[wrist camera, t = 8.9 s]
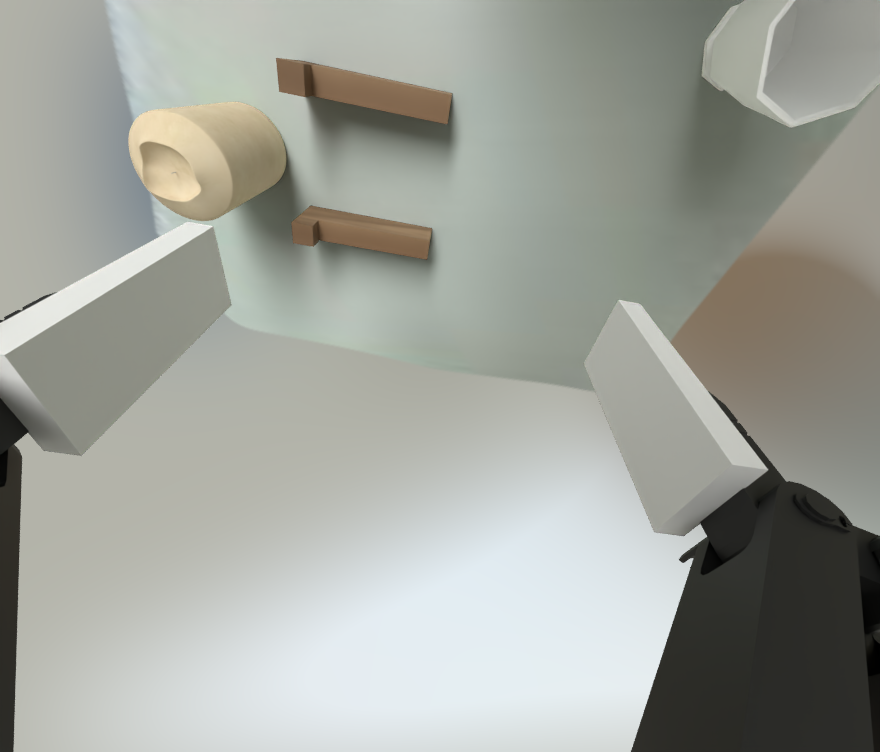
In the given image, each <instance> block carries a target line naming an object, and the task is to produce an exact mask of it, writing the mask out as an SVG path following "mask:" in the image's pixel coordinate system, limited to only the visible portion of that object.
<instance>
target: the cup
mask: <svg viewBox="0 0 880 752" xmlns="http://www.w3.org/2000/svg"><path fill="white" fill-rule="evenodd" d="M701 76H702V77H704V78H705V79H706V80H707V81H708V82H709V83H711V84H712V85H713V86H714V87H715V88H717V89H718V90H719V91H724V90H726V91H727V92H728V93H729V94H730V95H732V96H733V97H734V98H735V99H736V100H738V101H739V102H740V103H741V104H742V105H744V106H746V107H748V108H750V109H752V110H755V111H757V112H759V113H761V114H764V115H766V116H768V117H770V118H771V119H773V120H775V121H777V122H779V123H782V124H784V125H786V126H788V127H790V128H792V127H795V126H798V125H802V124H805V123H808V122H811V121H814V120H818V119H821V118H824V117H827V116H830V115H833V114H837V113H840V112H843V111H846V110H849V109H853V108H855V107H856V106H857V105H858V104H859V103H860V102H861V101H862V100H863V99H864V98H865V97H866V96H867V95H868V94H869V93H870V92H871V91H872V90H873V89H874V88H875V87H876V86H877V85H878V84H879V83H880V0H744V1H743V2H742V3H740V4H738V5H735V6H733V7H730V8H729V10H728V11H727V12H726V14H725V15H724V16H723V18H722V19H721V21H720V22H719V23H718V25H717V26H716V27H715V29H714V30H713V32H712V33H711V34H710V36H709V37H708V38H707V40H706V41H705V45H704V55H703V65H702V75H701Z"/></svg>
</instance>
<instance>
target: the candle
mask: <svg viewBox="0 0 880 752" xmlns="http://www.w3.org/2000/svg"><path fill="white" fill-rule="evenodd" d="M129 151H130V156H131V159H132V162H133V165H134V167H135V170H136V172H137V173H138V175H139V177H140V179H141V180H142V182H143V183H144V185H145V187H146V188H147V189H148V190H149V191H150V192H151V193H152V194H153V196H154V197H155V198H157V199H158V200H159V201H160V202H161V203H162V204H163V205H165V206H166V207H167V208H169V209H170V210H172V211H173V212H175V213H177V214H179V215H181V216H183V217H186V218H189V219H193V220H198V221H209V220H214V219H216V218H219V217H220V216H222V215H224V214H226V213H227V212H229V211H231V210H233V209H234V208H236V207H238V206H239V205H241V204H243V203H245V202H246V201H248V200H250V199H252V198H253V197H255V196H257V195H258V194H260V193H262V192H264V191H265V190H267V189H269V188H270V187H272V186H273V185H275V184H276V183H277V182H278V181H279V180H280V179H281V177H282V175H283V174H284V171H285V167H286V150H285V146H284V142H283V140H282V137H281V135H280V133H279V131H278V130H277V128H276V127H275V125H274V124H273V123H272V121H271V120H270V119H269V118H268V117H267V116H266V115H264V114H263V113H262V112H261V111H259V110H258V109H256V108H254V107H252V106H250V105H247V104H244V103H240V102H226V103H215V104H206V105H196V106H186V107H177V108H167V109H158V110H151V111H147V112H145V113H143V114H141V115H140V116H139V117H137V119H136V120H135V121H134V122H133V124H132V126H131V129H130V132H129Z"/></svg>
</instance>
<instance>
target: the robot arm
mask: <svg viewBox="0 0 880 752" xmlns="http://www.w3.org/2000/svg"><path fill="white" fill-rule="evenodd" d="M230 306H231V301H230V296H229V292H228V288H227V283H226V279H225V275H224V270H223V266H222V262H221V257H220V253H219V249H218V244H217V240H216V236H215V231H214V227H213V226H208V225H203V224H197V223H192V222H186V223H184V224H183V225H181V226H179V227H177V228H175V229H173V230H172V231H170V232H168V233H166V234H164V235H162V236H160V237H159V238H157V239H155V240H153V241H151V242H149V243H148V244H146V245H144V246H142V247H140V248H138V249H136V250H135V251H133V252H131V253H129V254H127V255H125V256H123V257H122V258H120V259H118V260H116V261H115V262H112V263H111V264H109V265H107V266H105V267H103V268H101V269H99V270H98V271H96V272H94V273H92V274H90V275H88V276H86V277H85V278H83V279H81V280H79V281H77V282H75V283H74V284H72V285H70V286H68V287H66V288H64V289H63V290H61V291H59V292H56V293H52V294H49V295H46V296H43V297H41V298H39V299H38V300H36V301H34V302H32V303H30V304H28V305H26V306H24V307H23V310H17V311H15V312H13V313H11V314H9V315H8V316H6V317H4V318H5V319H4V320H0V752H13V745H14V712H15V678H16V677H15V676H16V644H17V610H18V577H19V543H20V509H21V474H22V456H21V453H20V451H19V449H18V448H17V447H16V446H15V445H14V443H16V442H17V441H18V440H19V439H21V438H22V437H23V436H24V435H25V434H27V433H29V434H30V435H31V437H32V438H33V439H34V440H35V441H36V442H37V444H38V445H39V446H40V447H41V448H42V449H43V450H44V451H49V452H57V453H65V454H72V455H80V456H81V455H83V454H84V453H85V452H86V451H87V450H88V449H89V448H90V447H91V446H92V445H93V444H94V442H96V441H97V440H98V439H99V437H101V436H102V435H103V434H104V433H105V431H107V429H108V428H110V427H111V426H112V425H113V424H114V422H116V421H117V420H118V418H119V417H121V416H122V415H123V414H124V413H125V412H126V410H128V409H129V407H130V406H131V405H132V404H133V403H134V402H135V401H136V400H137V399H138V398H139V397H140V396H141V395H142V394H143V393H144V392H145V391H146V390H147V389H148V388H149V387H150V386H151V385H152V384H153V383H154V382H155V381H156V380H157V379H158V378H159V377H160V376H161V375H162V374H163V373H164V372H165V371H166V370H167V369H168V368H169V367H170V366H171V365H172V364H173V363H174V362H175V361H176V360H177V359H178V358H179V357H180V356H181V355H182V354H183V353H184V352H185V351H186V350H187V349H188V348H189V347H190V346H191V345H192V344H193V343H194V342H195V341H196V340H197V339H198V338H199V337H200V336H201V335H202V334H203V333H204V332H205V331H206V330H207V329H208V328H209V327H210V326H211V325H212V324H213V323H214V322H215V321H216V320H217V319H218V318H219V317H220V316H221V315H222V314H223V313H224V312H225V311H226V310H227V309H228V308H229V307H230ZM584 366H585V368H586V371H587V373H588V375H589V378H590V380H591V383H592V385H593V387H594V390H595V392H596V394H597V397H598V399H599V402H600V404H601V406H602V409H603V411H604V414H605V416H606V418H607V420H608V423H609V425H610V428H611V430H612V432H613V435H614V437H615V440H616V442H617V445H618V447H619V449H620V452H621V454H622V456H623V459H624V461H625V463H626V466H627V468H628V471H629V473H630V476H631V478H632V480H633V483H634V485H635V487H636V490H637V492H638V495H639V497H640V499H641V501H642V504H643V506H644V509H645V511H646V514H647V516H648V519H649V521H650V523H651V526H652V528H653V530H654V532H656V533H664V534H672V535H679V536H685V535H686V534H687V533H689V532H690V531H691V530H692V529H694V528H695V527H696V526H698V525H699V524H700V523H701V525H702V527H703V529H704V531H705V533H706V535H707V537H706V538H705V539H703V540H702V541H701V542H699V543H698V544H697V545H695V546H694V547H692V548H691V549H690V550H688V551H687V552H686V553H684V554H683V555H682V556H681V557H680V559H679V560H680V561H681V562H682V563H684V562H686V561H687V560H688V559H690V558H694V559H693V562H692V565H691V567H690V571H689V575H688V578H687V581H686V584H685V587H684V590H683V593H682V596H681V599H680V602H679V605H678V608H677V612H676V615H675V618H674V621H673V624H672V627H671V630H670V633H669V636H668V639H667V642H666V646H665V649H664V652H663V655H662V658H661V661H660V664H659V667H658V670H657V673H656V677H655V679H654V682H653V686H652V689H651V692H650V695H649V698H648V701H647V704H646V707H645V710H644V714H643V717H642V719H641V723H640V726H639V729H638V732H637V735H636V738H635V741H634V744H633V747H632V750H631V752H880V536H878V535H875V534H873V533H870V532H868V531H865V530H863V529H860V528H857V527H855V526H853V525H852V523H851V522H850V521H849V519H848V518H847V517H846V516H845V515H844V513H843V512H842V511H841V510H840V509H839V508H838V507H837V506H836V505H835V504H833V503H832V502H831V501H830V500H829V499H827V498H826V497H824V496H823V495H821V494H820V493H818V492H817V491H815V490H813V489H811V488H808V487H806V486H804V485H802V484H799V483H794V482H790V481H789V482H786V481H785V480H784V478H783V477H782V476H781V474H780V473H779V472H778V471H777V469H776V468H775V467H774V466H773V464H772V463H771V462H770V461H769V460H768V458H767V457H766V456H765V454H764V453H763V452H762V451H761V449H760V448H759V447H758V445H757V444H756V443H755V442H754V441H753V439H752V438H751V437H750V436H747V432H746V430H745V429H744V428H743V427H742V425H741V424H740V423H737V419H736V418H735V417H734V415H733V414H732V413H731V411H730V410H729V409H728V408H727V407H726V405H725V404H723V403H722V402H721V401H720V400H718V399H717V398H716V397H715V396H713V395H712V394H711V393H710V392H709V391H707V390H706V389H705V387H704V386H703V385H702V383H701V382H700V381H699V379H698V378H697V377H696V376H695V374H694V373H693V372H692V370H691V369H690V368H689V367H688V365H687V364H686V363H685V361H684V360H683V359H682V357H681V356H680V355H679V354H678V352H677V351H676V350H675V349H674V347H673V346H672V345H671V343H670V342H669V341H668V339H667V338H666V337H665V336H664V334H663V333H662V332H661V330H660V329H659V328H658V326H657V325H656V324H655V323H654V321H653V320H652V319H651V317H650V316H649V315H648V314H647V312H646V311H645V310H644V308H643V307H642V306H641V304H639V303H633V302H628V301H622V300H618V301H617V303H616V305H615V307H614V308H613V310H612V312H611V314H610V316H609V318H608V319H607V321H606V323H605V325H604V327H603V329H602V330H601V332H600V334H599V336H598V338H597V340H596V342H595V343H594V345H593V347H592V349H591V351H590V353H589V354H588V356H587V358H586V360H585V362H584Z"/></svg>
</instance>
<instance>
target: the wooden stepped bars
mask: <svg viewBox="0 0 880 752" xmlns="http://www.w3.org/2000/svg"><path fill="white" fill-rule="evenodd" d="M276 61H277V72H278V83H279V92H284V93H288V94H293V95H298V96H303V97H309V96H315V97H319V98H324V99H329V100H334V101H338V102H343V103H348V104H353V105H358V106H362V107H367V108H372V109H377V110H381V111H386V112H391V113H396V114H400V115H405V116H410V117H415V118H419V119H424V120H429V121H434V122H439V123H443V124H447V123H448V119H449V112H450V105H451V99H452V93H448V92H444V91H439V90H435V89H430V88H425V87H421V86H416V85H412V84H407V83H402V82H398V81H393V80H388V79H384V78H379V77H375V76H370V75H365V74H361V73H356V72H352V71H347V70H342V69H338V68H333V67H328V66H324V65H319V64H315V63H310V62H305V61H299V60H290V59H280V58H276ZM291 224H292V235H293V243H296V244H302V245H307V246H313V247H314V246H315V244H316V243H317V242H318V241H319V240H321V241H327V242H332V243H338V244H343V245H349V246H354V247H360V248H365V249H371V250H376V251H382V252H388V253H393V254H399V255H404V256H410V257H415V258H421V259H426V260H427V257H428V251H429V245H430V239H431V232H432V228H427V227H422V226H417V225H411V224H406V223H401V222H395V221H390V220H385V219H379V218H374V217H369V216H363V215H358V214H353V213H347V212H342V211H336V210H331V209H326V208H320V207H315V206H310V207H309V208H307V209H306V210H305V211H304V212H303V213H302V214H300V215H299V216H298V217H297V218H296V219H295V220H293V221H292V222H291Z"/></svg>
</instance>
